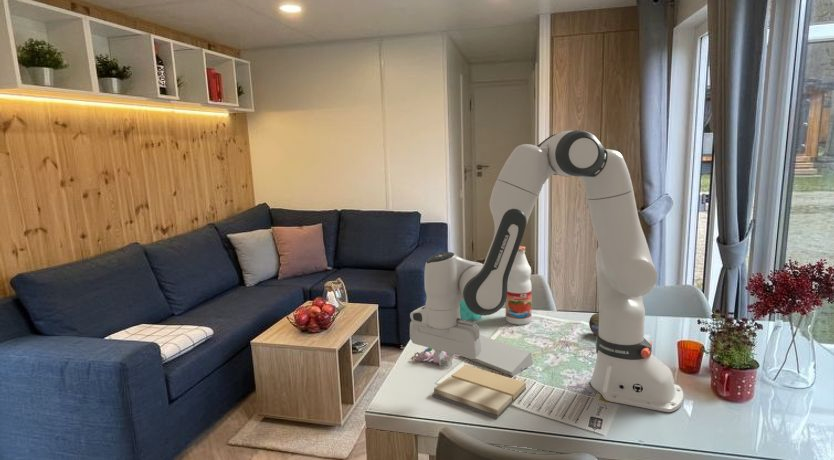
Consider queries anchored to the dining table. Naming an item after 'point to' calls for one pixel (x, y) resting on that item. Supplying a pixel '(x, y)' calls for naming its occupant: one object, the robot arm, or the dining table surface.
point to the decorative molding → (503, 356)
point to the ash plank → (473, 395)
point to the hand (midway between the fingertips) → (445, 365)
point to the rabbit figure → (429, 356)
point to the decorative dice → (467, 312)
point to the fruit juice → (519, 290)
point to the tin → (594, 323)
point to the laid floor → (487, 386)
